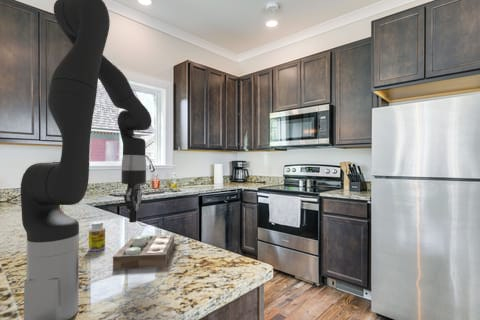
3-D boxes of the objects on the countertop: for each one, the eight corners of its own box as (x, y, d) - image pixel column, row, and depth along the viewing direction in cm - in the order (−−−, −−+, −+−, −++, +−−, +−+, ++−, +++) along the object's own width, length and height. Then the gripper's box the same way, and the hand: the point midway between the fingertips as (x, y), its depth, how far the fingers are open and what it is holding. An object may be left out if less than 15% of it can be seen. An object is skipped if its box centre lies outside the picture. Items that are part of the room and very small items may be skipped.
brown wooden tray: (165, 266, 83) (165, 253, 84) (112, 269, 81) (112, 255, 81) (174, 244, 106) (174, 233, 106) (133, 246, 104) (133, 235, 104)
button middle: (144, 250, 92) (144, 239, 92) (130, 251, 91) (130, 239, 91) (147, 246, 96) (147, 235, 96) (134, 247, 96) (134, 236, 96)
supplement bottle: (89, 252, 97) (89, 225, 97) (88, 248, 102) (88, 222, 102) (106, 249, 100) (106, 223, 100) (104, 246, 105) (104, 220, 105)
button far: (148, 248, 99) (148, 238, 99) (136, 249, 98) (136, 238, 98) (151, 245, 103) (151, 234, 104) (139, 245, 103) (139, 235, 103)
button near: (138, 263, 84) (138, 251, 84) (123, 264, 83) (123, 252, 84) (142, 258, 89) (142, 246, 89) (127, 259, 88) (128, 247, 88)
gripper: (140, 169, 81) (140, 226, 80) (150, 169, 94) (149, 218, 93) (115, 169, 80) (114, 226, 79) (128, 169, 93) (127, 218, 92)
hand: (133, 221), depth 86 cm, fingers closed
